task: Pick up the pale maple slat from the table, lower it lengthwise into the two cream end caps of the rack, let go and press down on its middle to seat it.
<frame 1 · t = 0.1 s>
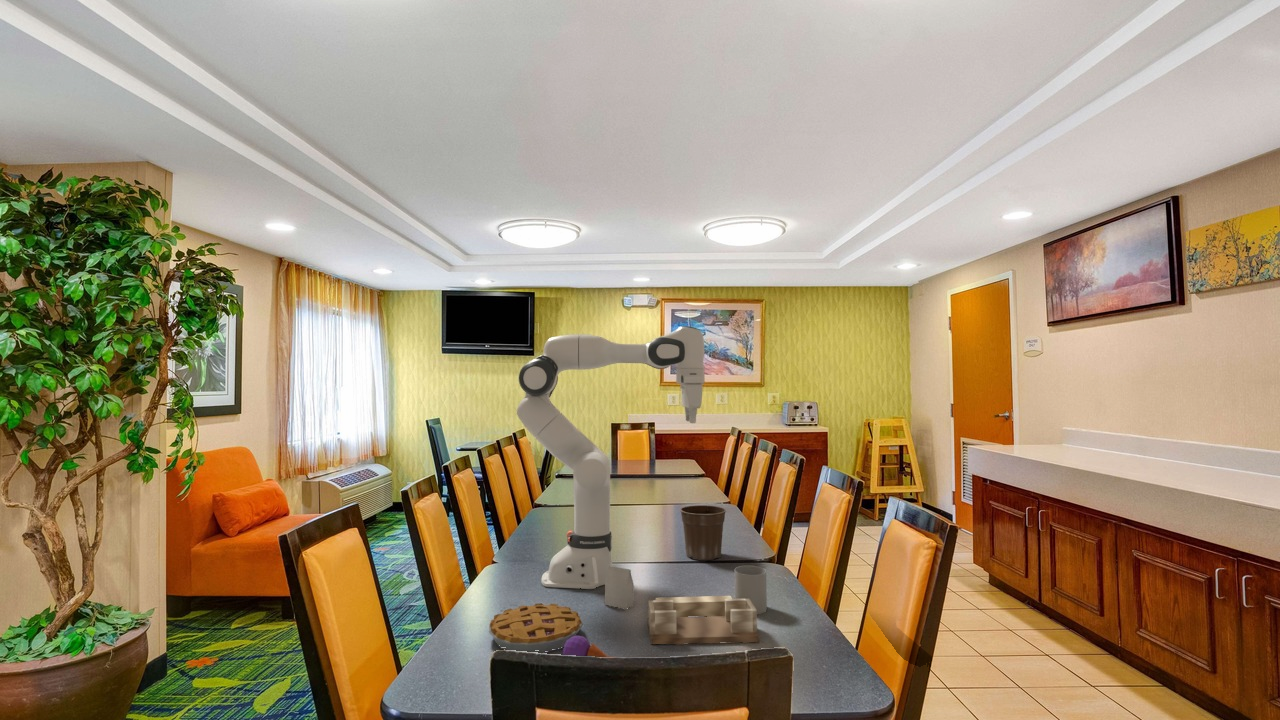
hand: (690, 422, 185), 48 cm above the table, tool pointing down, fingers open, 8 cm apart
endcap rack: (701, 632, 142), on the table
plant pot: (703, 556, 206), on the table
pie: (535, 638, 140), on the table
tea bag: (619, 606, 160), on the table
slat: (694, 615, 154), on the table
cup: (750, 609, 157), on the table
ice cream cone: (607, 671, 124), on the table
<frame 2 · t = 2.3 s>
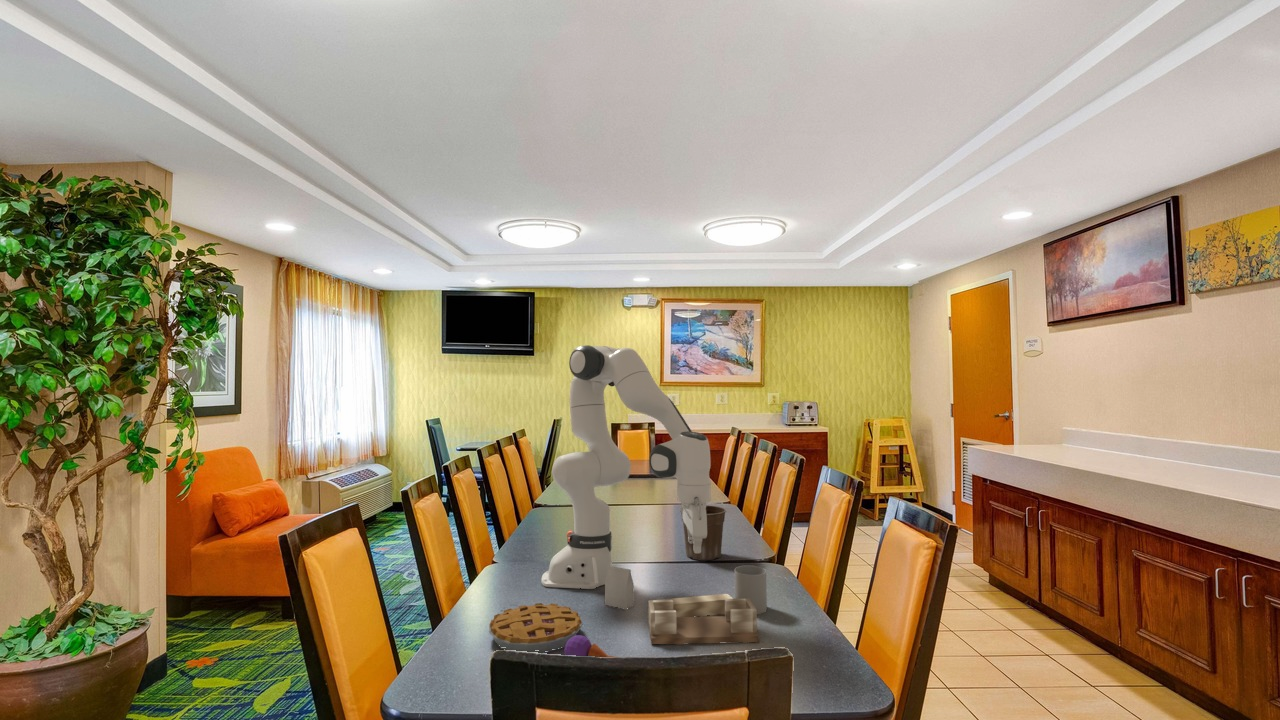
hand: (694, 547, 154), 17 cm above the table, tool pointing down, fingers open, 8 cm apart
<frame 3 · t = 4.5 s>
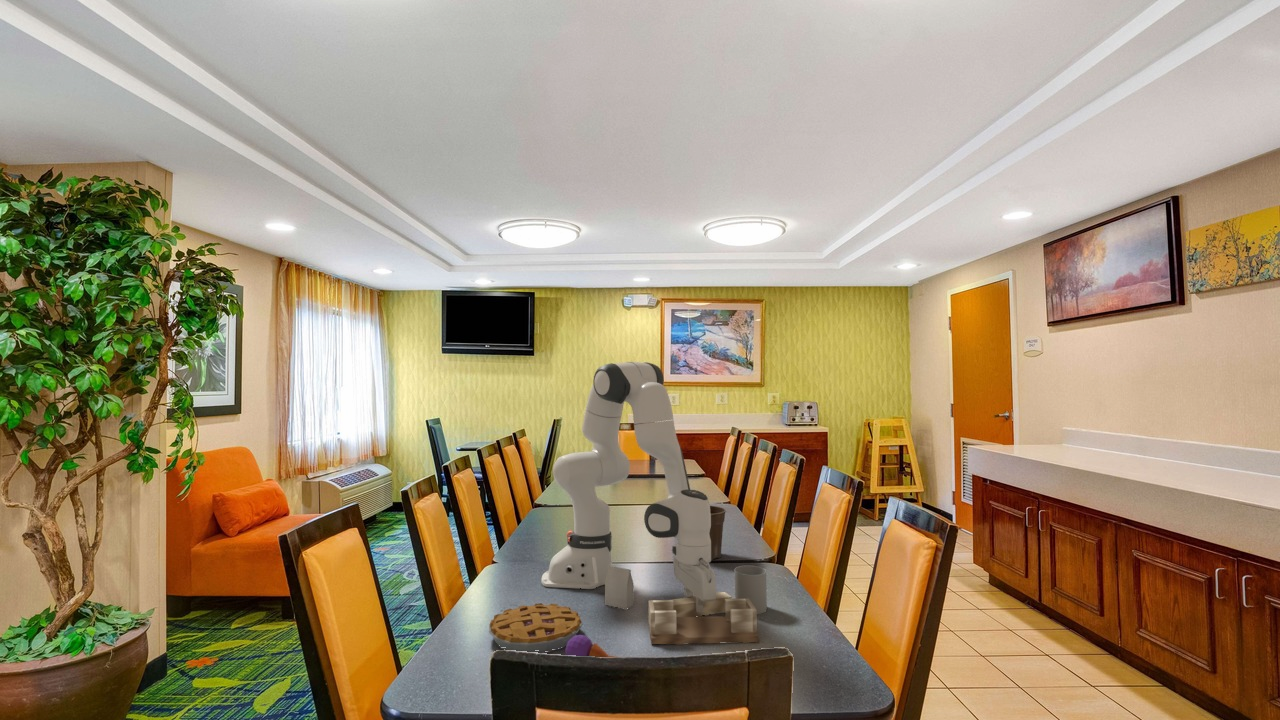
hand: (694, 607, 154), 2 cm above the table, tool pointing down, fingers closed on slat, 4 cm apart
slat: (694, 614, 154), on the table, touching gripper
everything else where it was.
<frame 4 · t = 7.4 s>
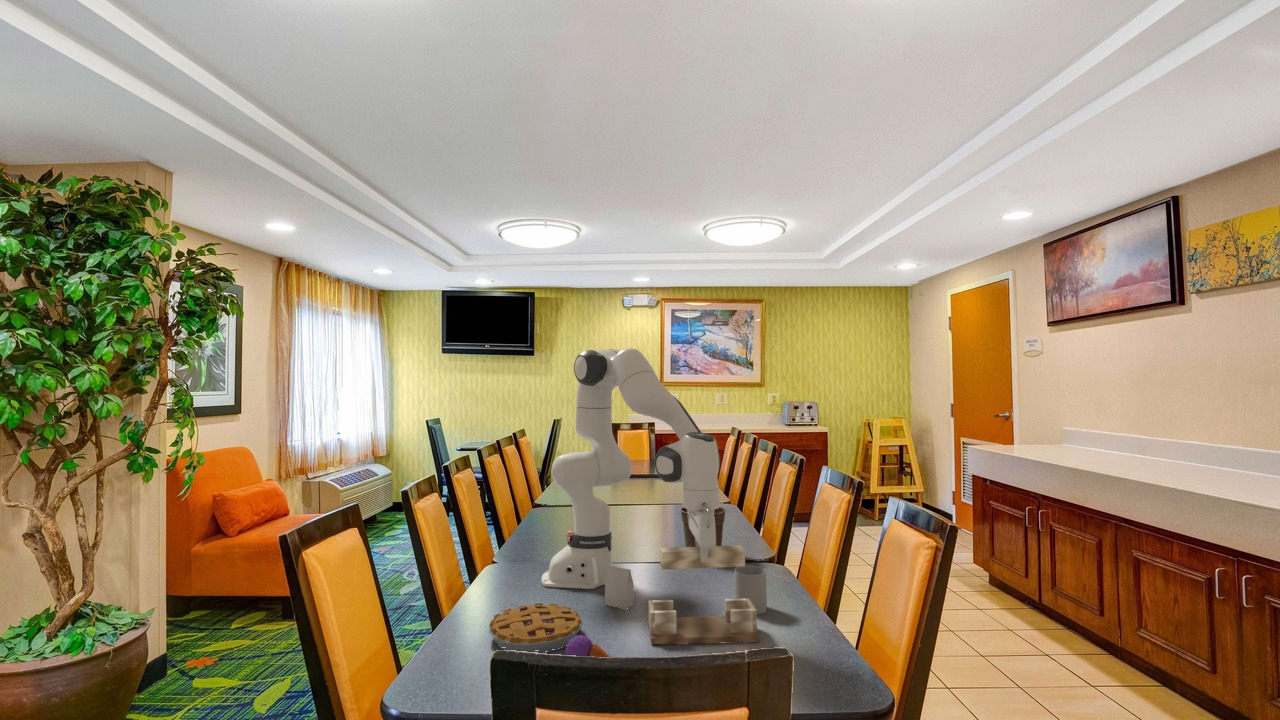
hand: (702, 557, 143), 18 cm above the table, tool pointing down, fingers closed on slat, 4 cm apart
slat: (702, 565, 143), point 16 cm above the table, touching gripper
everything else where it was.
when the fingers open (5 cm above the table, at t = 9.9 s): slat drops 1 cm, resting on endcap rack.
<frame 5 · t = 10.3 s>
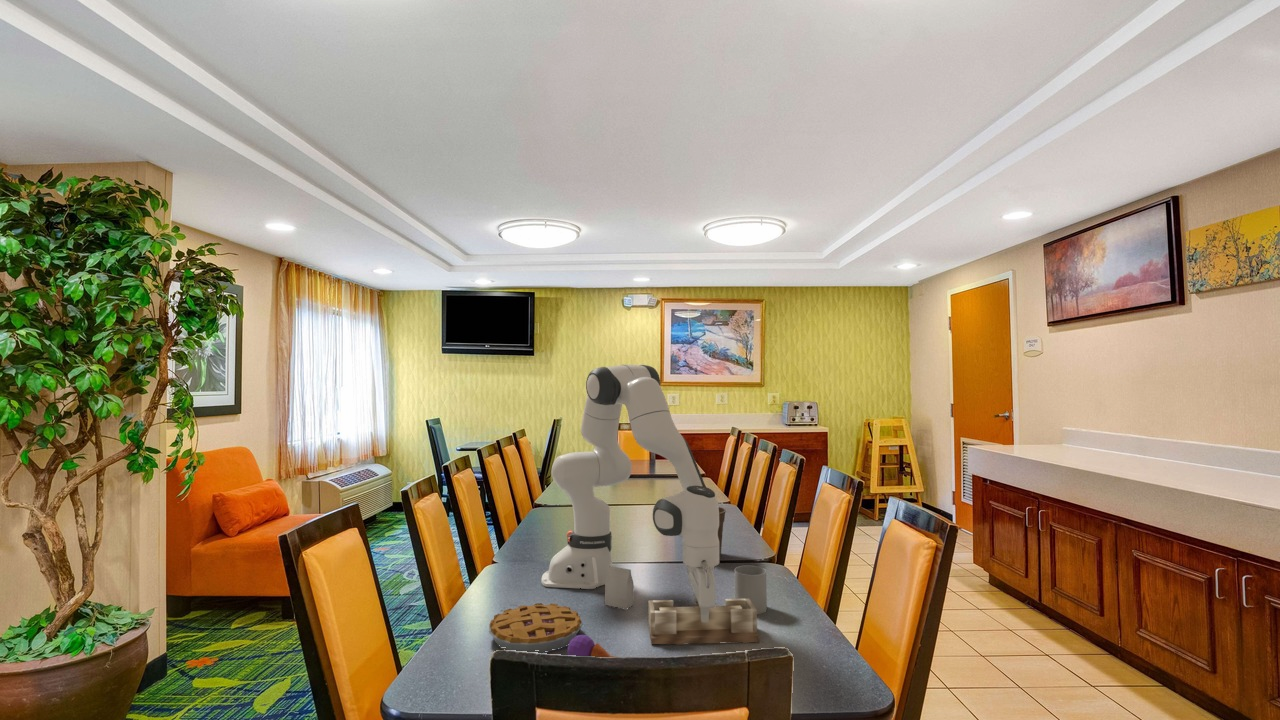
hand: (701, 613, 142), 5 cm above the table, tool pointing down, fingers open, 8 cm apart
slat: (701, 626, 142), point 1 cm above the table, touching endcap rack
everything else where it was.
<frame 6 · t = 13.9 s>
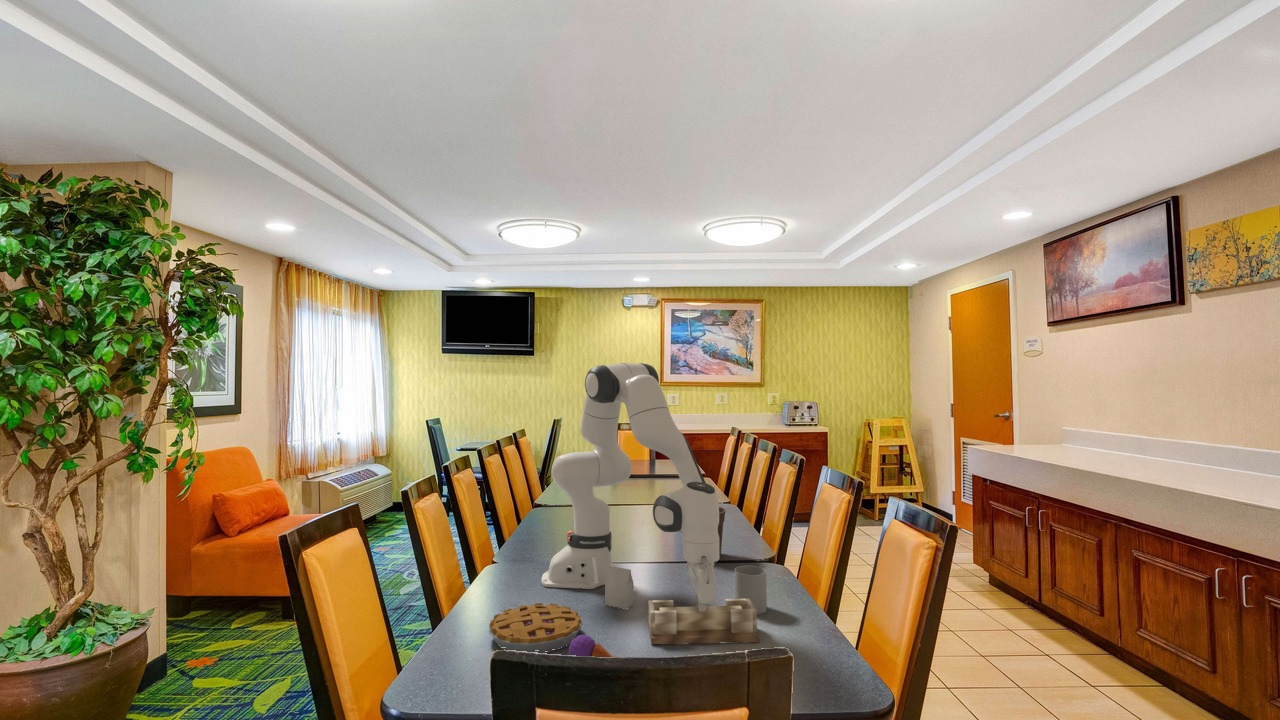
hand: (701, 609, 142), 6 cm above the table, tool pointing down, fingers closed, pressing on slat
slat: (701, 626, 142), point 1 cm above the table, touching endcap rack, gripper
everything else where it was.
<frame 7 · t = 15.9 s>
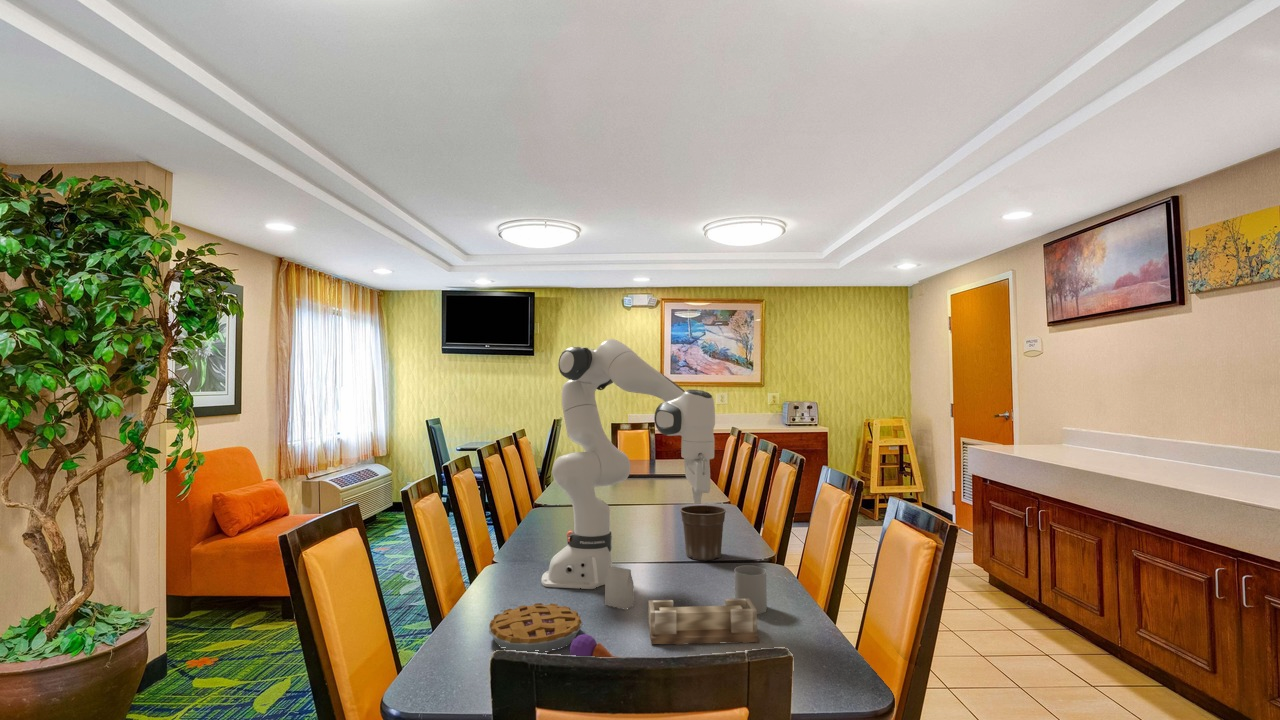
hand: (696, 502, 157), 28 cm above the table, tool pointing down, fingers closed
slat: (701, 626, 142), point 1 cm above the table, touching endcap rack
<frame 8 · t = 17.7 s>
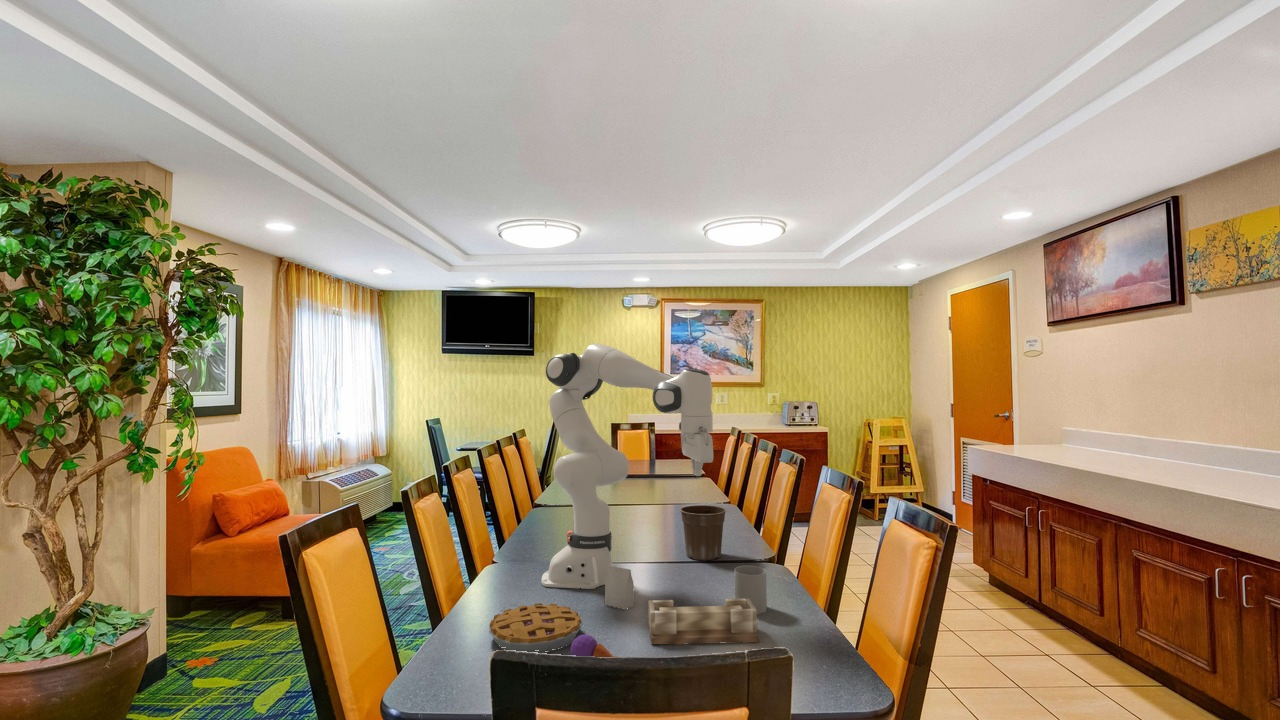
hand: (697, 475, 166), 34 cm above the table, tool pointing down, fingers closed
at the end: slat 0.1 cm off-centre on the endcap rack, point 1.5 cm above the endcap rack's base; slat tilted 0°; the gripper is holding nothing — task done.
